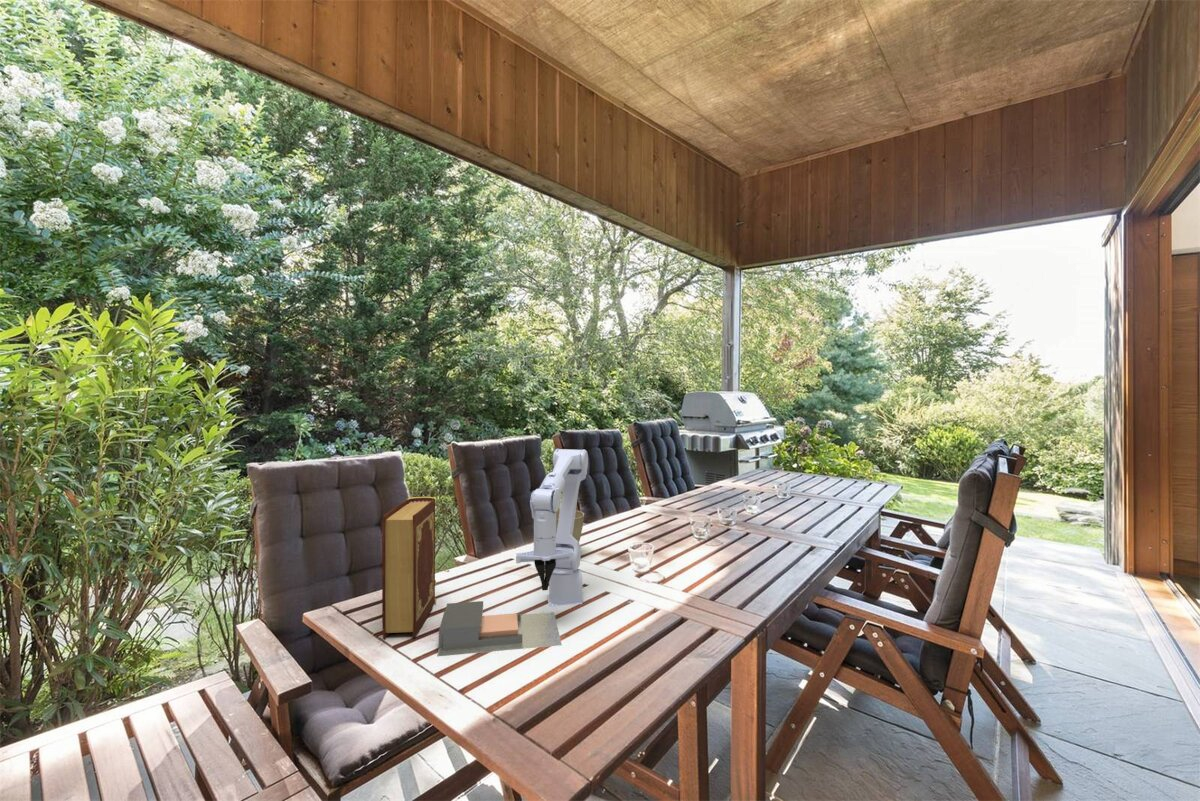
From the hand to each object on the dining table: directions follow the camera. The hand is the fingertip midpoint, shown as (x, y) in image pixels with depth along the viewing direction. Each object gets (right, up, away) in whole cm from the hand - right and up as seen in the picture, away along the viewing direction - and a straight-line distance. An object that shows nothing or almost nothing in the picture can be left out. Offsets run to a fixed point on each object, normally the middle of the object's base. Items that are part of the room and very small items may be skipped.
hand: (544, 588), depth 128 cm
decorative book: (-35, -10, +3) cm, 37 cm away
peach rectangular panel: (-14, -9, -6) cm, 18 cm away
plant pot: (+1, -9, +53) cm, 54 cm away
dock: (-10, -9, -5) cm, 15 cm away
